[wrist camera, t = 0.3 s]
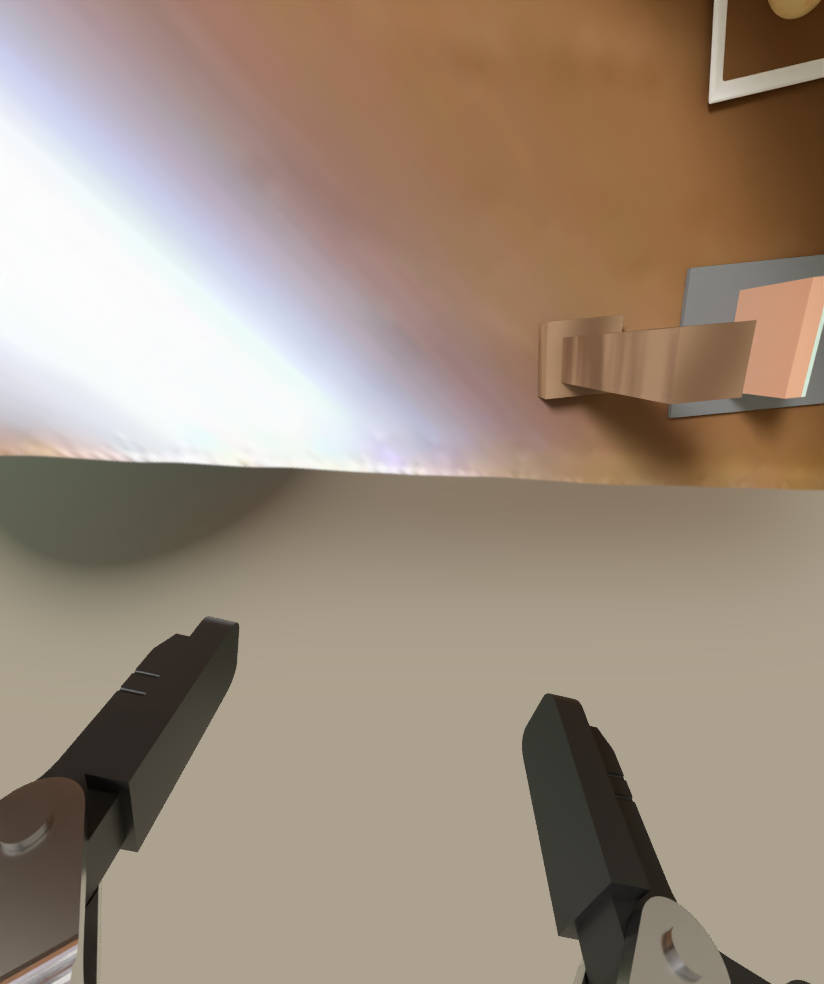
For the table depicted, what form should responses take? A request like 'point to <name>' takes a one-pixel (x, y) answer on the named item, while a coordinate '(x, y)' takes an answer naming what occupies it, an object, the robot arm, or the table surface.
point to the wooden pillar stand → (643, 360)
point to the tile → (782, 335)
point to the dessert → (787, 4)
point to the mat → (716, 302)
